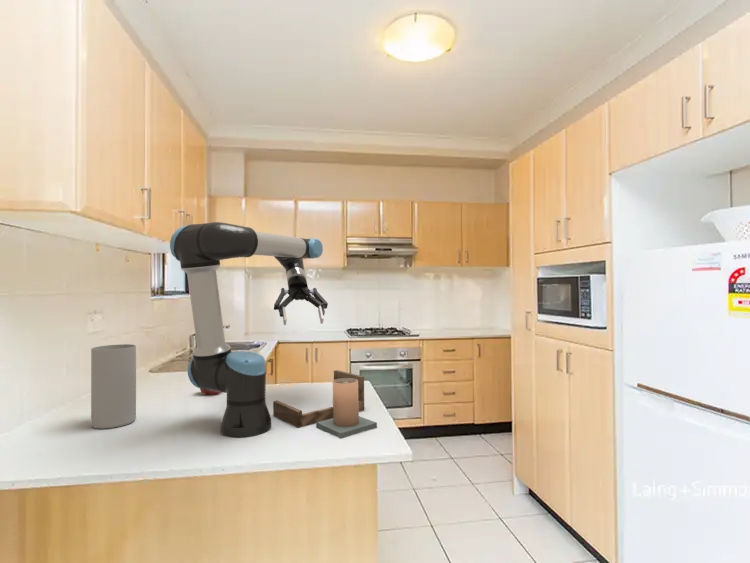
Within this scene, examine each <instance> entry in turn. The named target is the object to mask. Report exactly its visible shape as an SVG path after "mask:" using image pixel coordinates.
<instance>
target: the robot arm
mask: <svg viewBox="0 0 750 563" xmlns="http://www.w3.org/2000/svg"><path fill="white" fill-rule="evenodd" d="M323 248H324V247H323V244H322V241H321V240H320V239H319V238H314V237H310V238H303V237H297V236H290V235H289V236H288V235H283V234H273V233H267V232H261V231H255V229H254V228H252V227H248V226H244V225H239V224H238V225H237V224H232V223H227V222H221V221H218V222H217V221H214V222H213V221H212V222H206V223H194V224H193V223H192V224H188V225H183V226H181V227H179V228H177V229H176V230H175V231H174V232H173V233H172V236H171V238H170V241H169V249H170V253H171V255H172V256H173V257H174V259H175V260H177V261H178V262H179V264H180V269H181V271H183V272H184V273H186V276H187V283H188V290H189V297H190V305H191V311H192V319H193V327H194V333H195V341H196V342H195V343H196V348H195V350H194V351H193V352H192V358H191V359H190V361H189V364H188V366H187V376H188V380H189V381H190V383H191V385H193V386H194V387H196V388H197V389H199V390H200V389H203V390H206V391H217V392H219V393H224V394H225V393H226V407H225V410H224V413H223V416H222V419H221V422H220V433H221V434H222V435H223V436H226V437H233V438H244V437H252V436H257V435H260V434H263V433H266V432H267V431H269V430H270V429H271V428H272V417H271V414H270V412H269V408H268V406H267V403H266V390H267V389H266V387H267V386H266V383H267V382H266V381H267V379H266V377H267V376H266V375H267V374H266V372H267V368H266V359H265V357H264V356H263V355H262V354H260V353H256V352H253V351H244V350H243V351H233V352H232V348H231V347H232V346H231V345H229V344H228V343H227V342H226V339H225V331H224V324H223V322H224V321H223V314H222V309H221V308H222V307H221V299H220V292H219V286H218V285H219V283H218V277H217V276H218V275H217V270H218V269H219V268H220V266H221V261H223V260H229V259H236V258H238V259H239V258H250V257H252V256H267V257H273V258H275V259H276V260H277V262H279V263H280V265H281V266H282V267H283V268H284V270H285V275H286V281H287V286H288V289H285V288H284V287H281V289H280V293H279V295H278V297H277V299H276V300H275V302H274V304H273V310H274V311H278V314H279V317H280V318H282V321H283V322H282V323H283V325H284V326H286V325H287V313H286V308H287V306H288V305H290V303H292V302H293V301H294V300H295V301H304V300H305V301H306V302H309V303H311V305H313V306H314V307H316V308H317V312H318V318H319V322H320V325H321V324H323V323H324V320H325V319H324V316H325V314H326V311H325V310H326V309H327V308H328V305H329V302H328V301H326V299H325V298H324V297H323V296H322V295H321V294H320V293H319V291H318V290H317V288H316V287H313V288H312V289H309V287H308V282H307V276H306V272H305V267H304V259H318V258H320V257H321V256H322V254H323V251H324V249H323ZM287 294H288V296H287V297H286V298H285V296H286V295H287ZM284 298H285V299H284ZM283 299H284V300H283Z"/></svg>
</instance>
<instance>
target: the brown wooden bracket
mask: <svg viewBox="0 0 750 563" xmlns="http://www.w3.org/2000/svg"><path fill="white" fill-rule="evenodd" d="M341 378H353V379H357V380H358V404H359V413H361V412H364V411H365V377H364V376H362V375H359V374H356V373H350V372H347V371H342V370H337V369H335V370H333V380H336V379H341ZM272 404H273V405H272V409H273V410H272V413H273V414H272V416H273V417H274V418H277V419H279V420H281V421H283V422H286V423H287V424H290V425H292V426H293V427H296V428H298V429H299V428H302V427H306V426H309V425H313V424H316V422H320V421H324V420H328V419H332V418H333V406H331V407H330V406H329V407H326V408H321V409H317V410H313V411H312V410H311V411H308V412H305V413H303V410H301V409H298V408H296V407H294V406H291V405H289V404H287V403H284V402H282V401H279V400H273V401H272Z"/></svg>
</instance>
